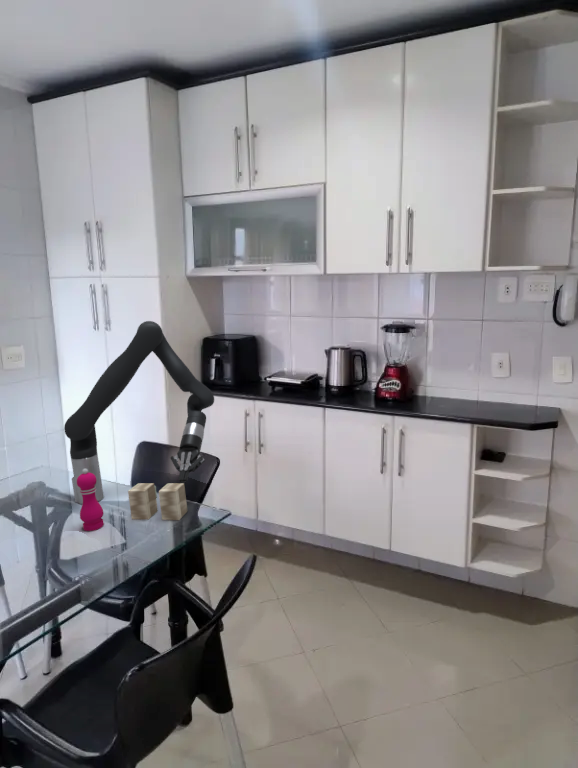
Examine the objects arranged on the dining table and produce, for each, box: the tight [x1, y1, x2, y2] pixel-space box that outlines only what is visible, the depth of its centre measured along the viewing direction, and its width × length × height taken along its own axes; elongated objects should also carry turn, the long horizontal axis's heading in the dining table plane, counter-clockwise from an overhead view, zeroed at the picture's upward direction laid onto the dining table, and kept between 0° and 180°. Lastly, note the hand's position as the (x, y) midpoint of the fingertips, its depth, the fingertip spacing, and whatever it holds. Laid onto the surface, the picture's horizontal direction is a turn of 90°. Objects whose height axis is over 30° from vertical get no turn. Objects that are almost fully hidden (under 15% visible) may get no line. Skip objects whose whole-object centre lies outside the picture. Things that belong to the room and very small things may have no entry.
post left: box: [127, 482, 159, 521], centre depth 178 cm, size 6×7×10 cm
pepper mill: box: [77, 469, 105, 532], centre depth 171 cm, size 7×7×20 cm
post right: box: [158, 482, 188, 521], centre depth 175 cm, size 6×7×10 cm
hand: (182, 481), depth 183 cm, fingers closed
